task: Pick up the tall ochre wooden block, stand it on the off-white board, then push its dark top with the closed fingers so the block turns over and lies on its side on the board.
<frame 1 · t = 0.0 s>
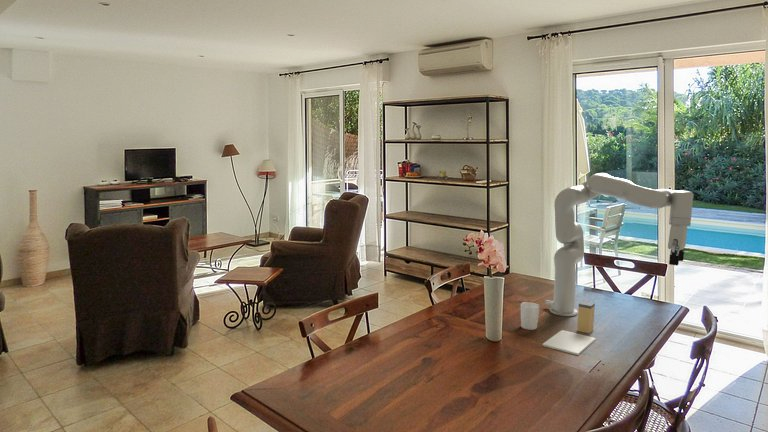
hand: (676, 262, 209), 31 cm above the table, tool pointing down, fingers open, 9 cm apart
white cup: (528, 327, 223), on the table
ochre block: (585, 330, 219), on the table
white board: (569, 342, 206), on the table
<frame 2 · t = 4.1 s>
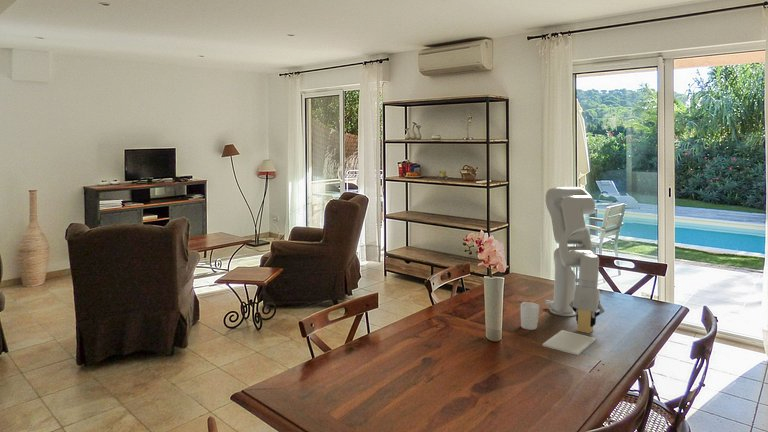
hand: (585, 324, 219), 3 cm above the table, tool pointing down, fingers closed on ochre block, 5 cm apart
ochre block: (585, 330, 219), on the table, touching gripper
everything else where it was.
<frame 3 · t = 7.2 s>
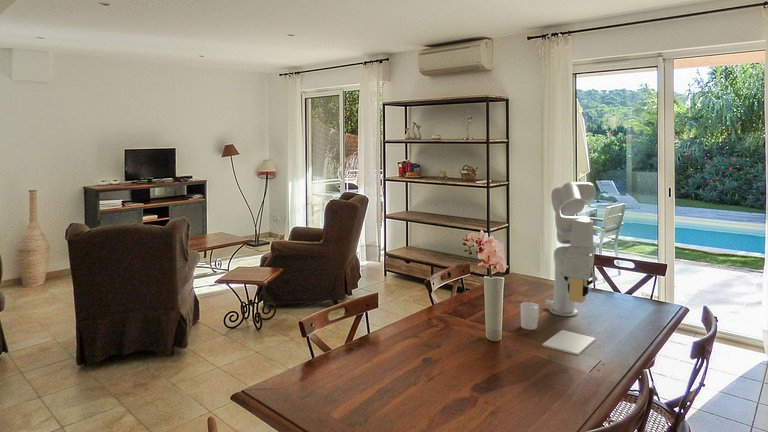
hand: (577, 293, 207), 19 cm above the table, tool pointing down, fingers closed on ochre block, 5 cm apart
ochre block: (577, 300, 208), point 16 cm above the table, touching gripper
everything else where it was.
when the fingers open (5 cm above the table, at t = 10.1 s): ochre block drops 1 cm, resting on white board.
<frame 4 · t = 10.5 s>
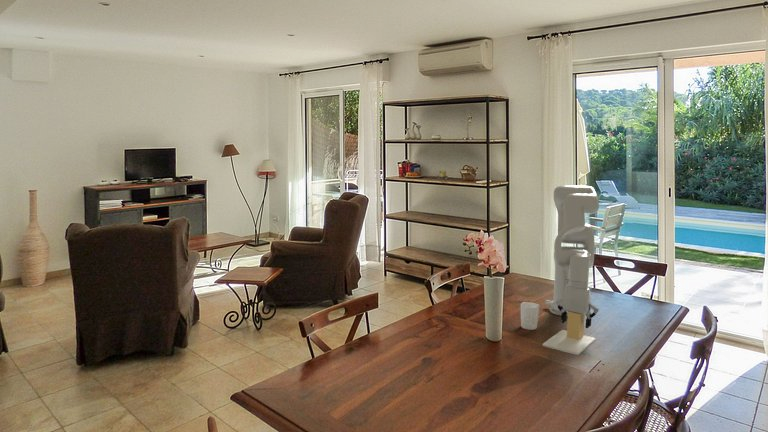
hand: (575, 324, 209), 6 cm above the table, tool pointing down, fingers open, 9 cm apart
ochre block: (574, 336, 210), point 1 cm above the table, touching white board
everything else where it was.
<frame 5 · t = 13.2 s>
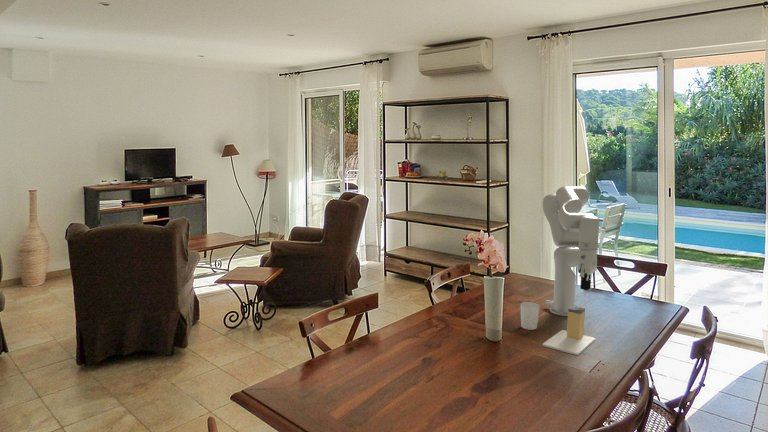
hand: (585, 288, 214), 19 cm above the table, tool pointing down, fingers closed
nothing on the table moved.
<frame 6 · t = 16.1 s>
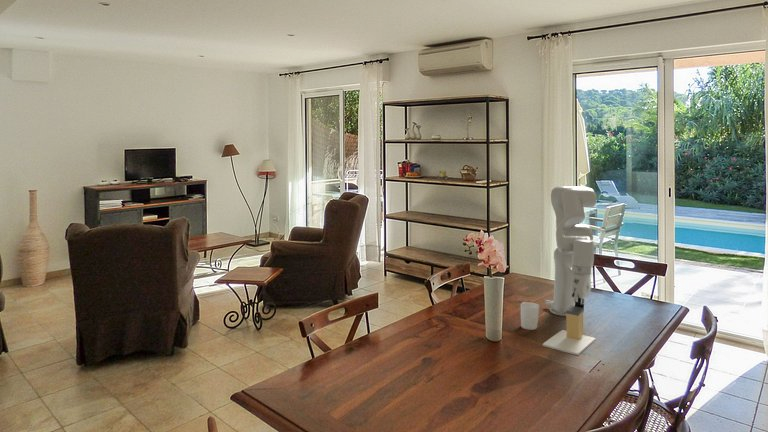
hand: (578, 312, 211), 10 cm above the table, tool pointing down, fingers closed
ochre block: (575, 335, 210), point 1 cm above the table, tilted 11°, touching gripper, white board
everything else where it was.
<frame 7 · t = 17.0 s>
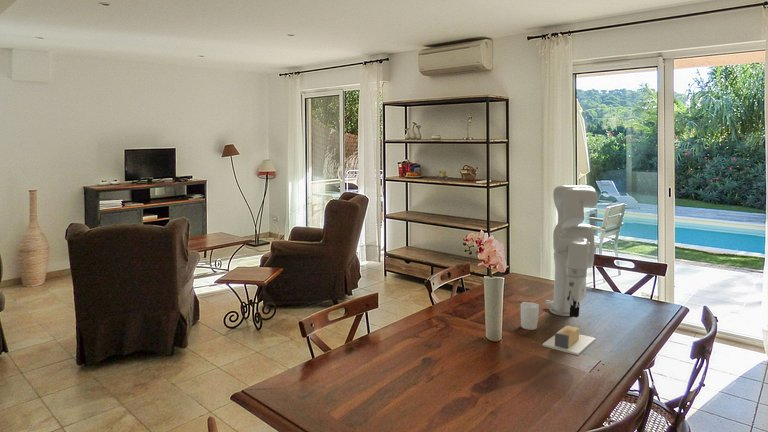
hand: (574, 316, 207), 10 cm above the table, tool pointing down, fingers closed
ochre block: (572, 332, 208), point 3 cm above the table, tilted 90°, touching white board
everything else where it was.
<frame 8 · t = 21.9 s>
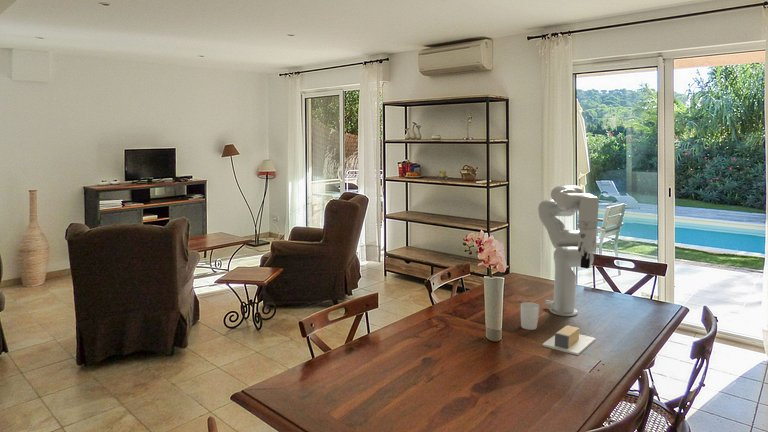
hand: (585, 267, 217), 27 cm above the table, tool pointing down, fingers closed
nothing on the table moved.
at the end: ochre block tilted 90°; ochre block inside the target area on the white board (3.5 cm from its centre), point 3.3 cm above the white board's base; the gripper is holding nothing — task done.
